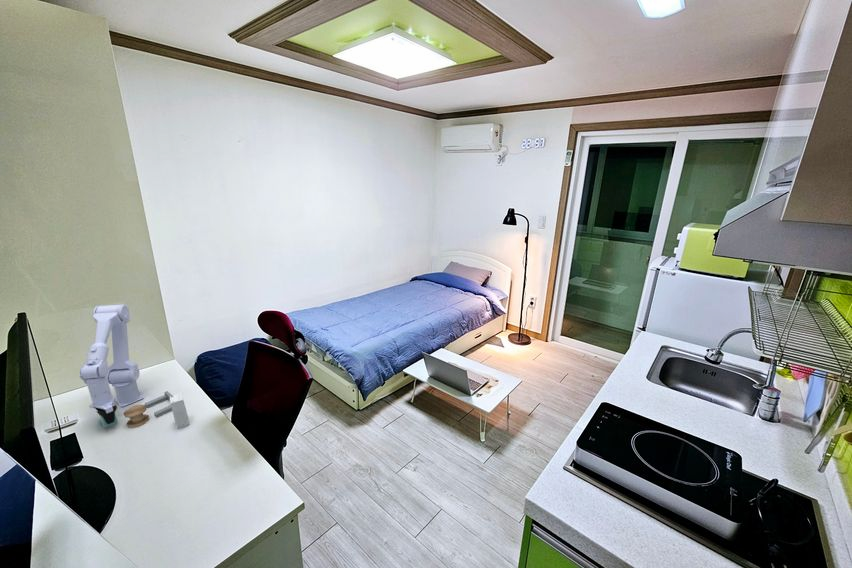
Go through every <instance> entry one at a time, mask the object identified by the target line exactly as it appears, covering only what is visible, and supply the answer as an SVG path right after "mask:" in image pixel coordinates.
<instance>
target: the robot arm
mask: <svg viewBox="0 0 852 568" xmlns="http://www.w3.org/2000/svg"><path fill="white" fill-rule="evenodd" d="M92 317H93V320H94V322H95V324H96V327H95V335H94V342H93V344H91V345H90V346H89V347H88V353H87V357H86V359H85V362H84V363H85V364H84V365H83V366H81V368H80V369H79V379H80V380H82V382H83V383H84V384H85V385H87V386H86V387H87V390H88V393H89V395H90V399H91V401H92V403H90V404H88V407H89V408H90V409H95V410H96V413H97V414H98V416H99V415H101V416H102V417H103V418H104V420H105V422H106V423H107V424H110V423H113V422H114V421H115V415H116V411H117V409H118V405H119V406H120V408H125V407H126V406H128V405H132V404H134V403H135V402H136V403H137V402H139V401H141V400H144V396H143V395H142V394H141V393H140V390H139V386H138V383H137V381H138V380H139V379H140V375H141V374H140V369H139V366H138V363H137V362H134V361H132V360H130V353H129V340H128V339H129V338H128V337H129V336H128V324H127V323H129V322H130V320H131V319H130V309H129V307H128V306H127V305H126V304H124V303H122V304H111V305H96V306H95V307H94V309H93V311H92ZM110 334H111V342H112V356H113V357H112V358H113V363H112V364H110V365H108V361H107V359H108V356H109V355H108V354H109V350H110V347H109V346H108V345H107V343H108V341H109V337H110ZM110 385H112V387H113V389H114V393H115V395H116V397H115V398H114V396H113V395H112V392H111V388H110ZM114 401H115V402H116V403H117V404H118V405H116V404H115V405H113V404H114Z"/></svg>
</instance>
